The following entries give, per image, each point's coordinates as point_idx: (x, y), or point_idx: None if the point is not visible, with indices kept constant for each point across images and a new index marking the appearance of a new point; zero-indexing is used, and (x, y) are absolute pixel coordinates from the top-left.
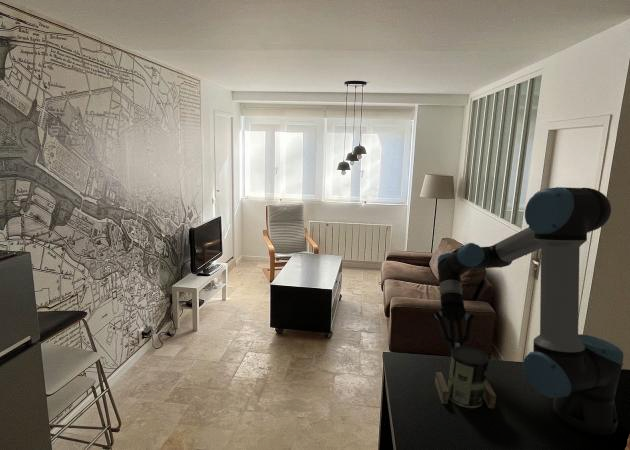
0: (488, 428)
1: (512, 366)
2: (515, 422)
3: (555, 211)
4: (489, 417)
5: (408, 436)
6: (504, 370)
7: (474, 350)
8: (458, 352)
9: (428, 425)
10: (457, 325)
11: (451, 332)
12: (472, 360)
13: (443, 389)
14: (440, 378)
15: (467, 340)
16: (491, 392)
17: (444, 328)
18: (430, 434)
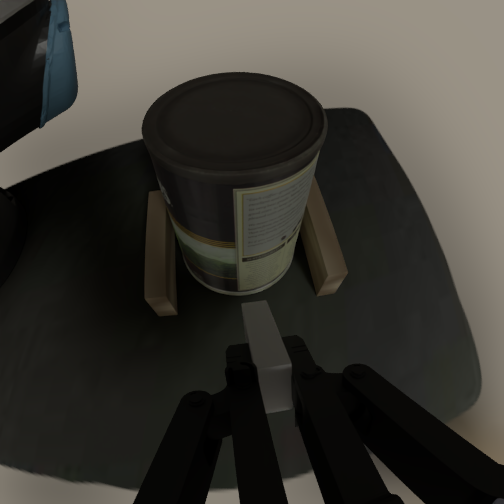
0: None
1: (30, 471)
2: (128, 185)
3: None
4: None
5: (355, 117)
6: (56, 447)
7: (195, 150)
8: (292, 117)
9: (328, 138)
10: (286, 500)
11: (338, 418)
12: (232, 85)
13: (314, 181)
14: (328, 234)
15: (190, 394)
16: (157, 204)
17: (410, 421)
18: None
